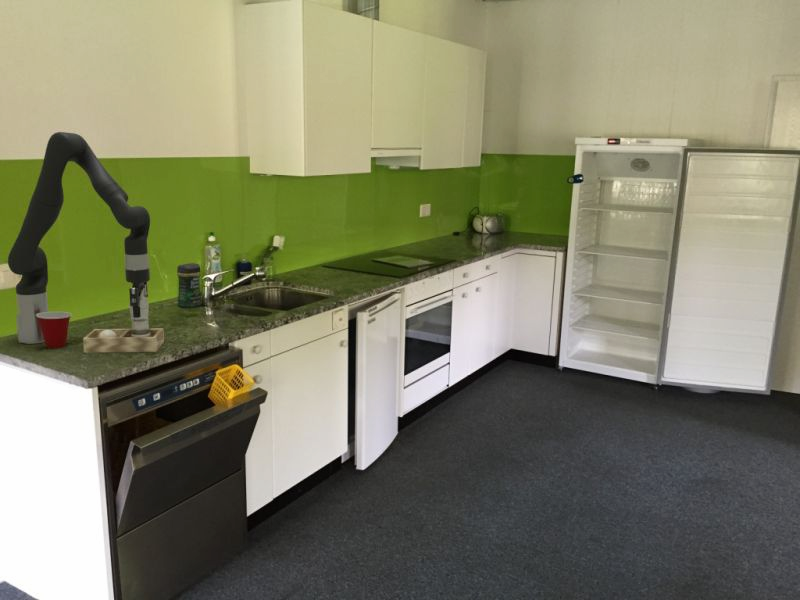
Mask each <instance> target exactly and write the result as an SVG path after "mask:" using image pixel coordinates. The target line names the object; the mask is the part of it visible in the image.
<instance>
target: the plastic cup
mask: <svg viewBox="0 0 800 600" xmlns="http://www.w3.org/2000/svg"><path fill="white" fill-rule="evenodd" d="M72 315H73V313H71V312H67V311H48V312H43V313H38V314H36V317H37V318H38V321H39V324H40V327H41V331H42V334H43V338H44V340H45V342H44V344H45V347H46V348H49V349H58V348H62V347H65V346H66V345H67V341H68V340H67V339H68V331H69V323H70V319H71V317H72Z"/></svg>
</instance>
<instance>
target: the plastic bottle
mask: <svg viewBox="0 0 800 600" xmlns="http://www.w3.org/2000/svg"><path fill="white" fill-rule="evenodd" d="M134 302H136V301H134ZM128 307H129V312H130V317H131V325H132V326H131V329H132V336H131V337H151V334H150V330H149V329H150V324H149V312H150V311H149V310H150V302H149V301H148V298H147V299H146V298H145V297H144V293H143V298H142V301H141V302H140V313H141V317H140V318H134V317H133V307H132V306H130V302H129V303H128Z"/></svg>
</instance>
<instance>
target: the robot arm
mask: <svg viewBox="0 0 800 600" xmlns="http://www.w3.org/2000/svg"><path fill="white" fill-rule="evenodd" d="M69 162H73V163H75V164H76V165H78V166H79V167H80V168H81V169H82V170H83V171H85V174H86V175H87V176H88V178H89V181H90V182H91V185H92V188H93V189H94V191H95V193H96V194H97V195H98V196H99V197H100V198H101V200H102V201H103V202H104V203H105V204H106V205H107V206H108V207H109V209H110V211H111V213H112V215H113V216H114V218H115V220H116V221H117V222H116V223H118V224H119V225H120V226H121V227H123V228H124V229H126V230H130V232H129V235H127V236H126V237H125V238H124V245H123V246H124V271H125V273H124V274H125V281H126V282H127V283H131V284H132V286H131V287H130V288H128V291H129V303H130V306H132V307H133V317H134V318H140V317H141V313H140V302H141V301H142V298H143V293H144V297H145V298H146V299H147V300H148V297H149V294H148V282H149V281H150V280H151V276H150V275H151V274H150V259H149V253H148V238H149V233H150V226H151V217H150V213H149V211H148V210H147V209H146V208H145V207H144V206H140V205H137V206H130V205H129V204H128V202H129V195H128V193H126V191H125V190H124V189H123V188H122V186H120V185H119V183H118V182H117V181H116V180H115V179H114V178H113V177H112V176H111V175H110V173H108V171H107V170H106V168H105V167H104V166H103V164H102V163H101V161H100V159H98V157H97V156H96V154H95V153H94V151H93V149H92V147H90V145H89V144H88V142H87V141H86V140H85V138H84V137H83V136H81V135H80V134H77V133H74V132H65V131H57V132H54V133H53V134H51V136H50V137H49V139H48V141H47V144H46V147H45V153H44V158H43V160H42V165H41V166H42V167H41V170H40V173H39V177H38V179H37V181H36V186H35V188H34V191H33V193H32V196H31V197H30V198H31V199H30V201H29V204H28V208H27V210H26V211H27V212H26V213H25V217H24V219H23V222H22V225H21V228H20V231H19V233H18V235H17V238H16V239H15V240H14V241H15V242H14V243H13V245H12V247H11V249H10V251H9V254H8V257H7V265H8V268H9V270H10V271H11V272H12V273H13V274H15V275H19V276H21V278H20V280H19V281H18V283H17V284H16V285H15V292H16V293H15V295H16V303H17V312H18V315H16V317H15V318H16V328H17V339H18V343H20V344H21V343H22V344H26V345H27V344H30V345H33V344H40V343H42V344H43V343H45V340H44V338H43V334H42V331H41V327H40V324H39V321H38V318H37V317H36V314H38V313H43V312H49V305H48V292H47V285H48V283H49V273H48V272H49V271H48V270H49V269H48V268H49V267H48V259H47V255H46V253H45V251H44V250H43V248H41V247H40V246H39V245H40V243H41V241H42V239H43V238H44V237H45V235H46V234H47V233H48V231H50V229H52V227H53V225H54V224H55V223H56V221H57V219H58V218H59V215H60V213H61V210H62V208H63V203H64V201H65V200H64V198H65V197H64V189H63V176H64V172H65V170H66V167H67V165H68V163H69ZM134 301H136V302H134Z"/></svg>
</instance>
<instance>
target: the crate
mask: <svg viewBox="0 0 800 600" xmlns="http://www.w3.org/2000/svg"><path fill="white" fill-rule="evenodd" d="M104 330H112V331H114V332H115V333H116V335H117V338H98V336H99V334H100V333H101V332H102V331H104ZM149 330H150V334H151V337H131V336H132V328H94V329H92V330H91V331H90V332H89V333H88V334H87V335H85V336H84V337H83V338H82V343H83V344H82V345H83V353H88V354H89V353H91V354H92V353H146V352H147V353H148V352H150V353H152V352H154V353H155V352H158V350H159V349H160V348H161V346H162V345H163V344H164V342H165V336H164V328H163V327H162V328H149Z"/></svg>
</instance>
